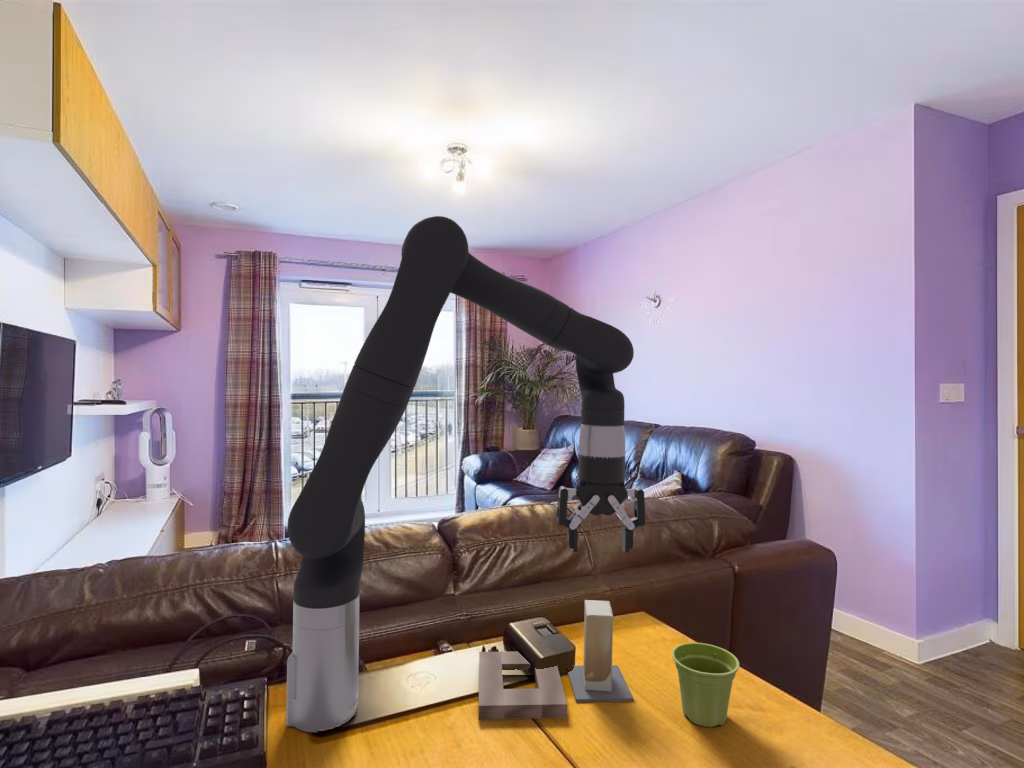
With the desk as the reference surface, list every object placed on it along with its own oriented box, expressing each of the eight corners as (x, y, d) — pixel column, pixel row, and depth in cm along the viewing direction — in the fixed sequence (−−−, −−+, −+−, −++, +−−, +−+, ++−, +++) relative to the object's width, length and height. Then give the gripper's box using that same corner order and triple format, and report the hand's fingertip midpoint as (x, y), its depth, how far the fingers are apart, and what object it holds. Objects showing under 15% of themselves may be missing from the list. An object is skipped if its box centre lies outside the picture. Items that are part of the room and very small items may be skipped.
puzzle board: (478, 719, 79) (478, 705, 79) (479, 663, 95) (479, 651, 95) (567, 717, 80) (567, 704, 80) (553, 662, 96) (553, 651, 96)
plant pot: (737, 743, 74) (738, 680, 75) (666, 724, 78) (667, 664, 78) (739, 707, 83) (740, 650, 83) (675, 691, 87) (676, 637, 87)
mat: (576, 701, 84) (576, 699, 84) (566, 668, 94) (566, 665, 94) (633, 700, 84) (633, 698, 84) (617, 667, 94) (617, 665, 94)
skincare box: (582, 670, 92) (583, 598, 92) (608, 672, 92) (609, 599, 92) (584, 691, 86) (585, 614, 86) (612, 693, 85) (613, 615, 86)
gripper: (562, 454, 85) (560, 558, 85) (651, 455, 86) (649, 558, 86) (555, 449, 93) (553, 544, 92) (638, 450, 93) (636, 544, 93)
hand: (599, 551), depth 89 cm, fingers open, 8 cm apart
